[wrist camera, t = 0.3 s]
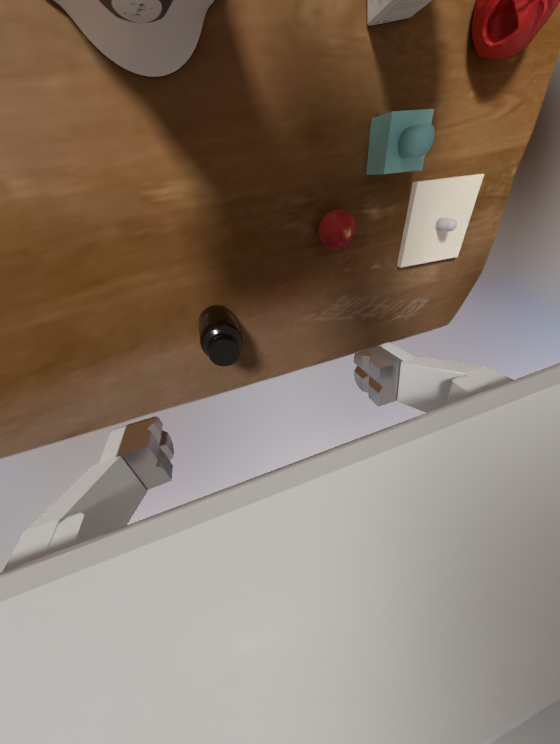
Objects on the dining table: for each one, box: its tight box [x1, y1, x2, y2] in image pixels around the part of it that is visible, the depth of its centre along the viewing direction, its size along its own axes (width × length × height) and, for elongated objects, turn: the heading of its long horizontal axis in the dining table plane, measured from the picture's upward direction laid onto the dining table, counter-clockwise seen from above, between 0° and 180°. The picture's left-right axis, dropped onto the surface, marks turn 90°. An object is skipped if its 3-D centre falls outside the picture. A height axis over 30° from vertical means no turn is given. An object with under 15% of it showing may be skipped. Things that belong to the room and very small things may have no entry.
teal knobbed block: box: [366, 109, 435, 175], centre depth 37 cm, size 7×7×8 cm
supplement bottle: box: [199, 305, 243, 366], centre depth 44 cm, size 7×7×12 cm
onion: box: [318, 209, 356, 250], centre depth 41 cm, size 6×6×8 cm
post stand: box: [397, 174, 484, 268], centre depth 48 cm, size 14×14×5 cm
